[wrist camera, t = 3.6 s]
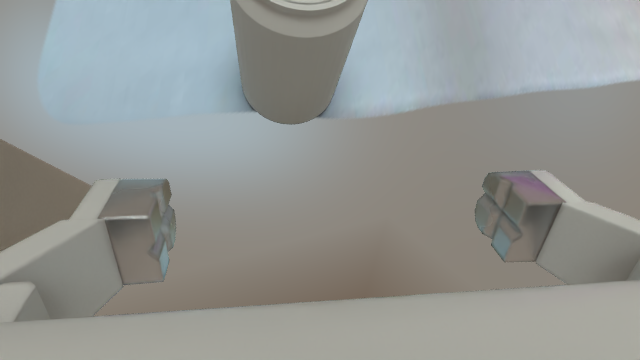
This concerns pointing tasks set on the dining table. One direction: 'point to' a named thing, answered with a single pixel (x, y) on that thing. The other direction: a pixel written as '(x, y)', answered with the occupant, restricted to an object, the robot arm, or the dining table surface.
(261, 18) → the beverage can
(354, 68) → the dining table surface
